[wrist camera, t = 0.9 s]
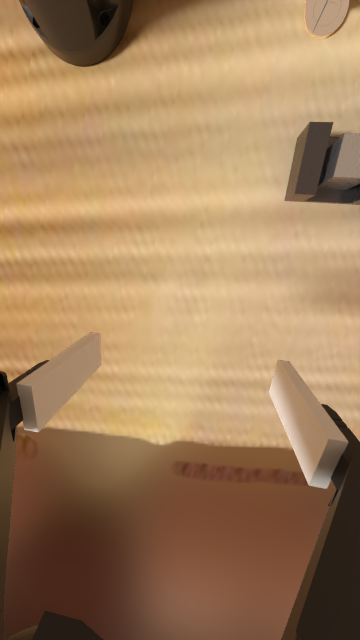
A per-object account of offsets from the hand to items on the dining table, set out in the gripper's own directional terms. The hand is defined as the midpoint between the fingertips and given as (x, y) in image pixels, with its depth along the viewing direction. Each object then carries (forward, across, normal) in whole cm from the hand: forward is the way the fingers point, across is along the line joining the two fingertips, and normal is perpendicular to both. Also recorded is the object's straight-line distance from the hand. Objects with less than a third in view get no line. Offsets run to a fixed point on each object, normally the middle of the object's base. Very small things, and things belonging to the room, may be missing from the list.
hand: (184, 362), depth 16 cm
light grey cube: (+24, +17, +21) cm, 36 cm away
